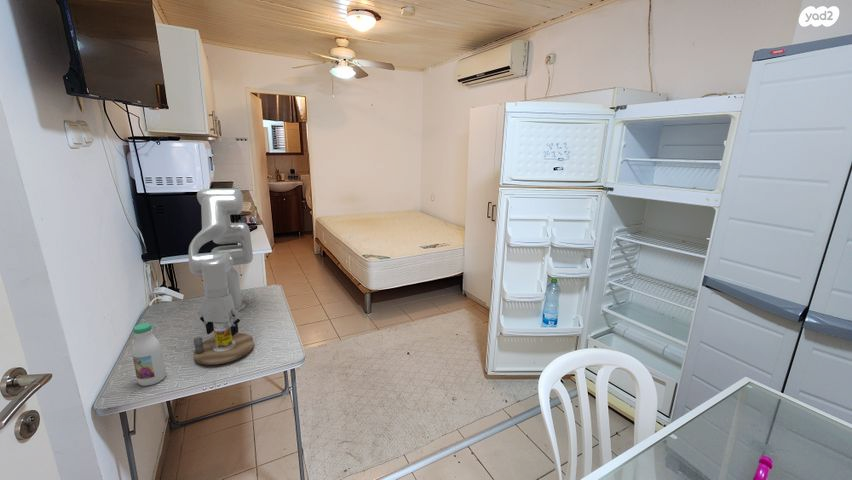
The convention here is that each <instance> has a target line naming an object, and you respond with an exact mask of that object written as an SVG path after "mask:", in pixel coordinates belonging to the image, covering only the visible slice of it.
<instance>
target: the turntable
mask: <svg viewBox="0 0 852 480" xmlns="http://www.w3.org/2000/svg"><path fill="white" fill-rule="evenodd" d="M232 342H233V343H232V345H231V346H230V347H228V348H224V349H219V348H217V347H216V341H215V336H214V337H211V338H209V339H207V340H205V341H203V337H202V336H201V337H195V338H193V343H194V350H193V358H194V360H195V362H197V363H198V364H203V365H206V366H207V365H220V364H225V363H229V362H232V361H234V360H235V361H236V360H238V359H239V358H241V357H244V356H245V355H247V354H249V352H251V350H252V349H253V348H254V338H253V337H252V336H251V335H250V334H247V333H242V332H238V333H237V334H235V335H234V336H232Z"/></svg>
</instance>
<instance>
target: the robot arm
mask: <svg viewBox="0 0 852 480" xmlns="http://www.w3.org/2000/svg"><path fill="white" fill-rule="evenodd" d="M196 198H197V201H198V203H199V205H200V207H201V210H200V211H201V230H200V231H199V232H198V233H196V235H195V236H194V237H193V239H192V240H191V242H190V243H189V246H188V268H189V271H190V272H191V274H193V275H196V276H197V275H202V282H203V288H202V289H201V290H202V292H203V293H204V295H203V298H202V309H201V310H199V311H198V312H197V313H196V315H197V316H198V317H199V319H200V321H202V323H203V325H205V331H206V334H207V335H210V334H212V333H213V332H214V327H215V326H214V323H216V322H219V323H227V322H228V324H230V325H231V335H232V336H234V335H235V334H237V333H239V325H238V324H240V322H241V321H242V319H243V317H244V313H242V312H240V311H242V310H244V309H245V308H246V306H247V305H246V302H245V301H243V299H244V298H246V297H247V296H246V294H245V293H242V292H241V283H240V277H239V272H238V270H237V269H236V268H235V267H234V266H239V265H247V264H251V262H253V258H254V254H253V253H254V251H253V245H252V237H251V231H250V227H249V225H248V224H247V223H245V222H232V221H231V215H239V214H241V213H242V211H243V207H244V195H243V192H242V191H241V190H240V188H237V187H236V188H235V187H234V188H205V189H203V188H202V189H201V190H198V191H197V193H196ZM210 241H212V242H213V243H215V244H216V245H221V246H216V247H213V249H212V250H211V252H210V253H202V254H201V253H200V254H199V251H200V249H201V247H203V246H204V245H205V244H207V243H209V242H210ZM227 244H228V245H227ZM229 244H233V245H229Z"/></svg>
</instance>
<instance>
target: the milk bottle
mask: <svg viewBox="0 0 852 480" xmlns="http://www.w3.org/2000/svg"><path fill="white" fill-rule="evenodd" d="M132 328H133V334H134V335H135V339H134V341H133V345H132V348H131V353H132V359H133V365H134V370H135V374H136V381H137V383H138V385H140V386H143V387H149V386H152V385H155V384H157V383H160V382H162V381H163V380H164V379H165V378H166V377H165V376H167V370H166V364H165V359H164V354H163V349H162V345H161V342H160V341H159V339H157V337H156V336H155V335H154V334H153V329H152V324H151V323H149V322H145V323H140V324H137V325H135V326H134V327H132ZM161 380H162V381H161Z"/></svg>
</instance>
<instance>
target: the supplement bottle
mask: <svg viewBox="0 0 852 480" xmlns="http://www.w3.org/2000/svg"><path fill="white" fill-rule="evenodd" d="M231 326H232V325H231V324H230V323H229V322H227V323H219V322H215V326H214V331H213V332H214V333H213V334H214V337H215V341H216V347H217V348H219V349H224V348H228V347H230V346H231V345H232V343H233V342H232V335H231Z"/></svg>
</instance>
